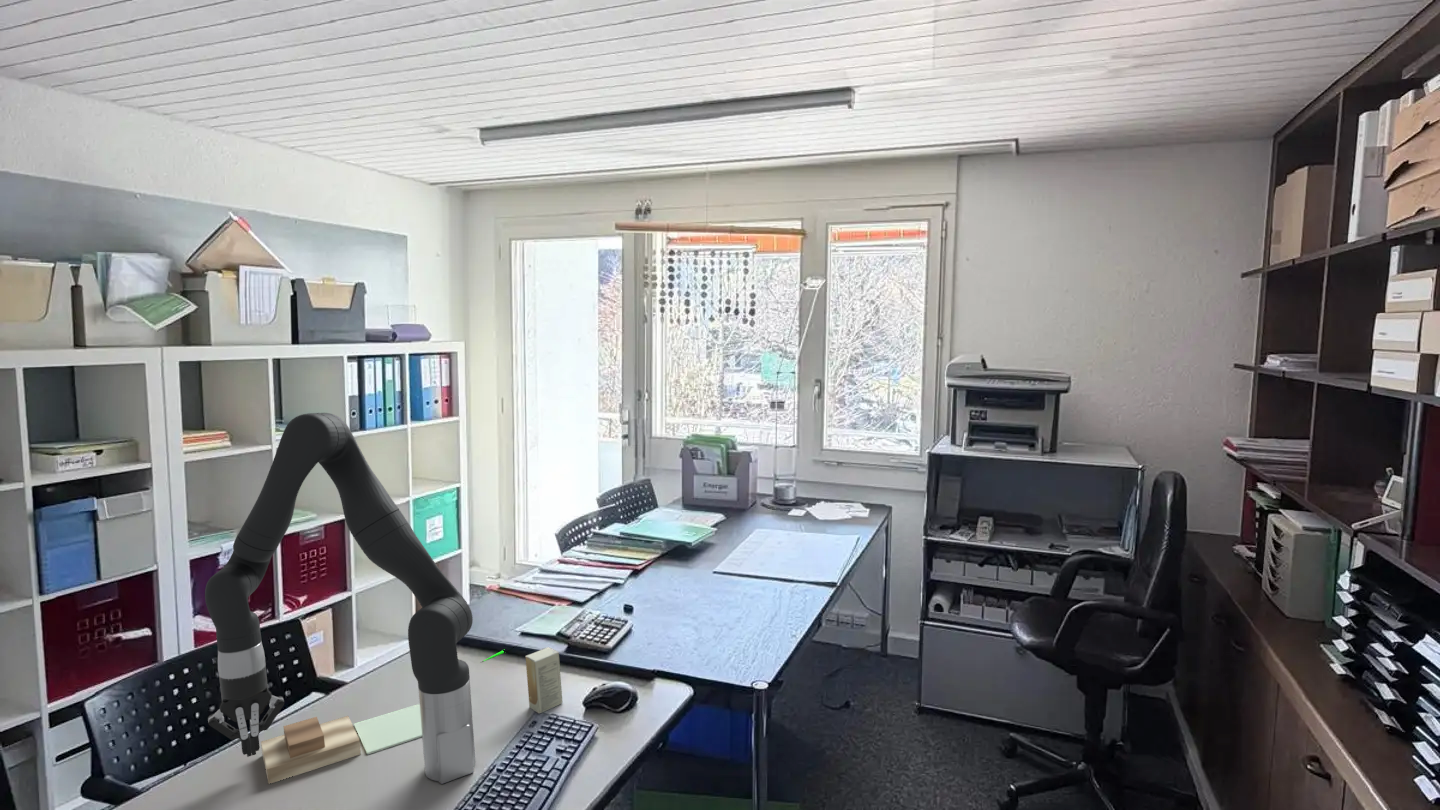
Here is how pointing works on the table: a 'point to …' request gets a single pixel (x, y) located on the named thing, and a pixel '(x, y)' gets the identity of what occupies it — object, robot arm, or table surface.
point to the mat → (390, 729)
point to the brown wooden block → (303, 737)
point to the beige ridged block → (337, 748)
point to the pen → (494, 655)
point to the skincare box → (544, 679)
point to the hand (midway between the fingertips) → (251, 753)
